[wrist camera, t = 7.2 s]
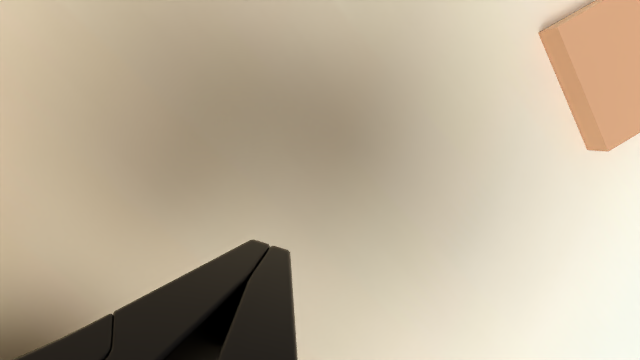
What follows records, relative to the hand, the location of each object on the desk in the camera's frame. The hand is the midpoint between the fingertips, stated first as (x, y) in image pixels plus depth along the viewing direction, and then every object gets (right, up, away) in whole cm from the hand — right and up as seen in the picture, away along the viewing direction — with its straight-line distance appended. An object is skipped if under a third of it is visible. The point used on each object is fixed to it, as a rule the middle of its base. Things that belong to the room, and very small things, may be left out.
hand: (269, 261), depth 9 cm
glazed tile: (+14, +6, +13) cm, 21 cm away
